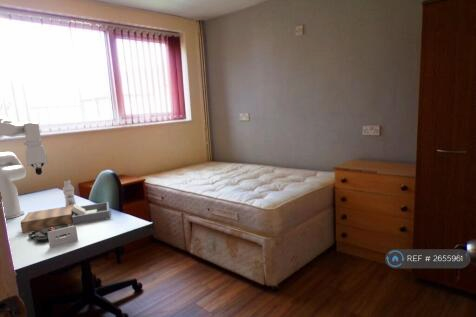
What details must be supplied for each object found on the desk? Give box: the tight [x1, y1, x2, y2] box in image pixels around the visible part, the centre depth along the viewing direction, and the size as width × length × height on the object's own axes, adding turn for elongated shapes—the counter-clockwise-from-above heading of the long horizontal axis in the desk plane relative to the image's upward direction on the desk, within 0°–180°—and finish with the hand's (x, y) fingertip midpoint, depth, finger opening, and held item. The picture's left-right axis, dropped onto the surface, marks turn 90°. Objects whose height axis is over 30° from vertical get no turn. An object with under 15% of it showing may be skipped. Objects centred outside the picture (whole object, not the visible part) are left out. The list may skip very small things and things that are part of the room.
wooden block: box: [20, 206, 74, 234], centre depth 186 cm, size 24×20×6 cm
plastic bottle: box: [62, 179, 77, 207], centre depth 207 cm, size 6×7×20 cm
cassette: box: [47, 224, 79, 249], centre depth 153 cm, size 12×2×8 cm, turn 125°
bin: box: [72, 201, 111, 226], centre depth 194 cm, size 19×22×4 cm
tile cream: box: [71, 203, 85, 215], centre depth 191 cm, size 7×7×2 cm
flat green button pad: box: [28, 224, 70, 243], centre depth 166 cm, size 18×18×5 cm
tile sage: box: [83, 209, 97, 215], centre depth 193 cm, size 7×7×2 cm
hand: (39, 174), depth 192 cm, fingers closed
